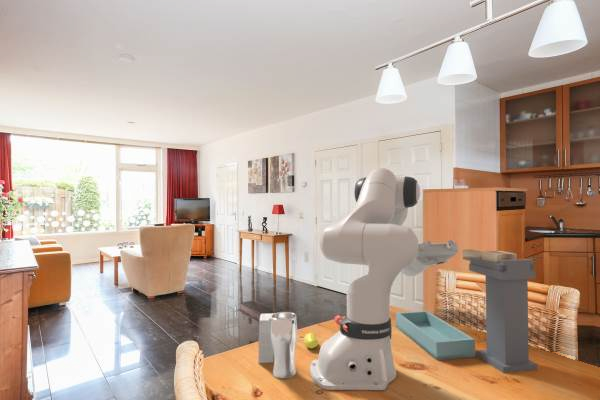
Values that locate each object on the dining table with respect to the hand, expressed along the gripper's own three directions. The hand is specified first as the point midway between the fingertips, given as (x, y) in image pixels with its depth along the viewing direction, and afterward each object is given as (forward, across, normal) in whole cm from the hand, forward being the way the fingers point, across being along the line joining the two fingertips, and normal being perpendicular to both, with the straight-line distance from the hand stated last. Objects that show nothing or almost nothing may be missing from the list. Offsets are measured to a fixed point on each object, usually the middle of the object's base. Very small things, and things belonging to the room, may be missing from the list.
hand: (440, 242), depth 124 cm
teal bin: (-3, -12, +32) cm, 35 cm away
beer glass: (+7, -61, +38) cm, 73 cm away
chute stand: (+10, 0, +40) cm, 41 cm away
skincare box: (-1, -65, +34) cm, 73 cm away
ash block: (+18, 0, +15) cm, 23 cm away
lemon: (-6, -51, +31) cm, 60 cm away
